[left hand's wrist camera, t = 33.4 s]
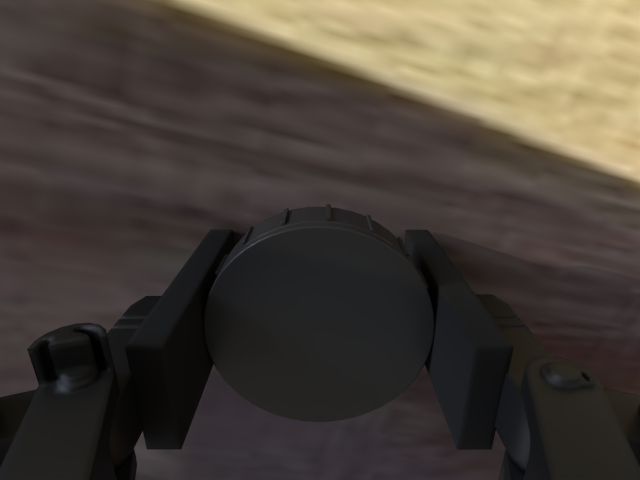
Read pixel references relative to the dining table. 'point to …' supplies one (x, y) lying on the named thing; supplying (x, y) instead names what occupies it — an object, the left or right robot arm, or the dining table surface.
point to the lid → (319, 315)
